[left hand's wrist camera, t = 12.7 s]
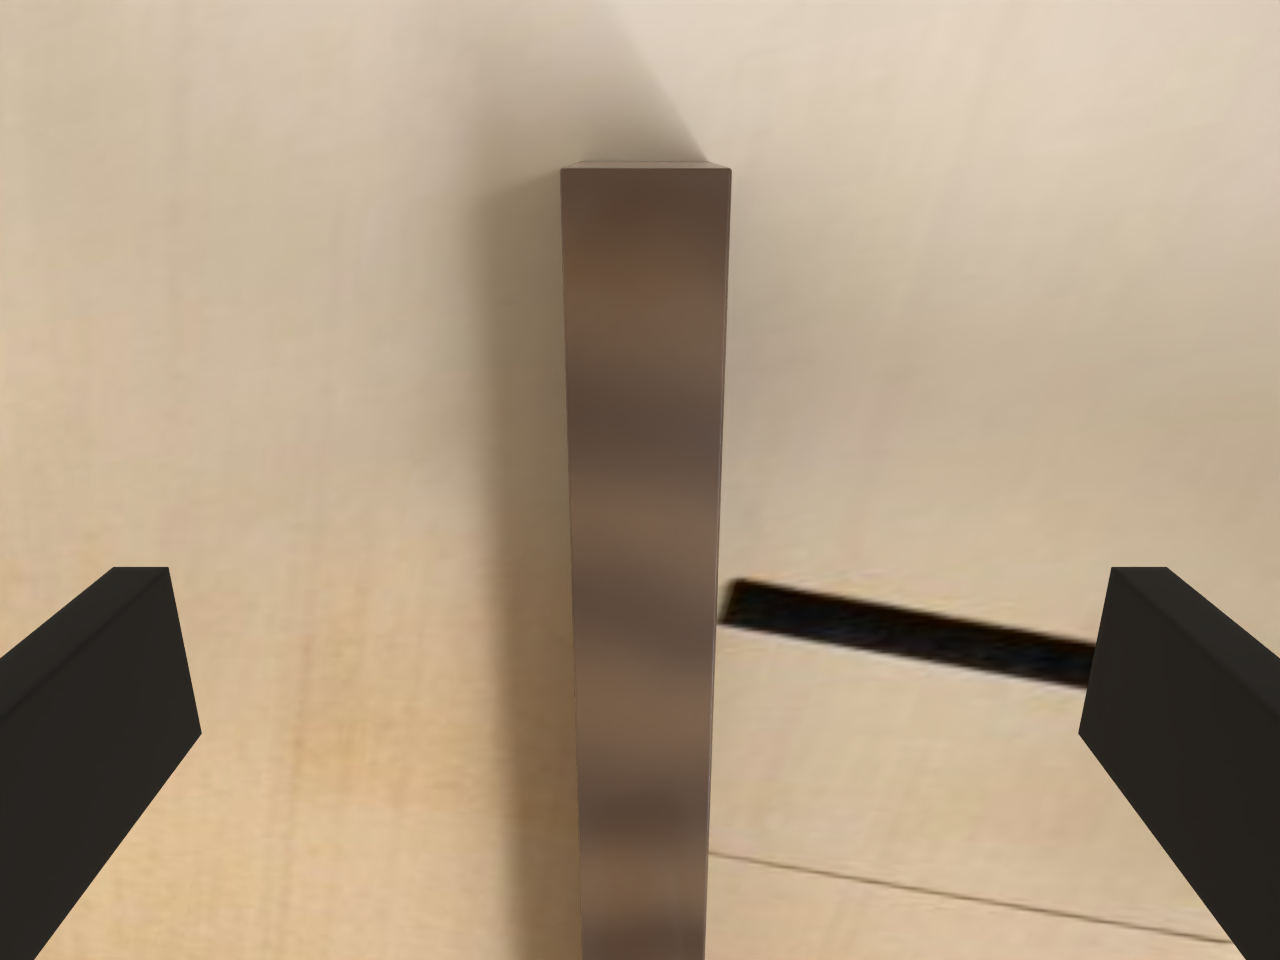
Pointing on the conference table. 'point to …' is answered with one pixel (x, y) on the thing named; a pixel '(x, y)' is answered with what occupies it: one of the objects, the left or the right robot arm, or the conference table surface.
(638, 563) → the post
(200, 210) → the conference table surface
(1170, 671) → the left robot arm
